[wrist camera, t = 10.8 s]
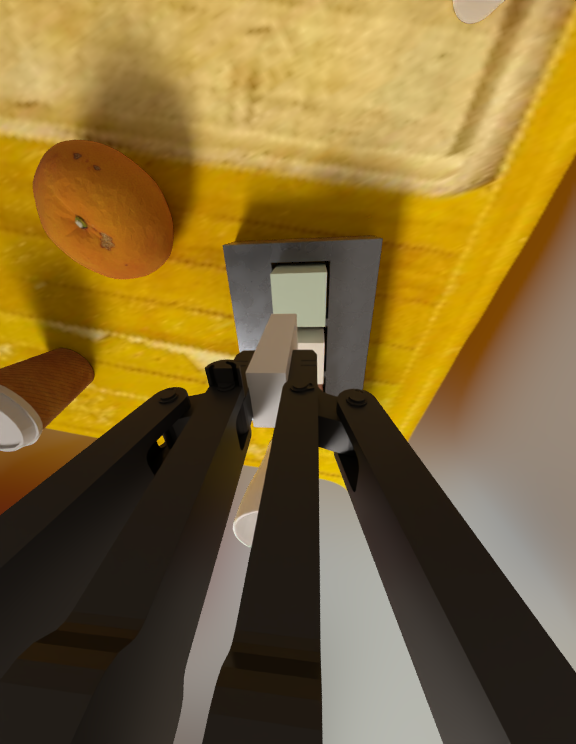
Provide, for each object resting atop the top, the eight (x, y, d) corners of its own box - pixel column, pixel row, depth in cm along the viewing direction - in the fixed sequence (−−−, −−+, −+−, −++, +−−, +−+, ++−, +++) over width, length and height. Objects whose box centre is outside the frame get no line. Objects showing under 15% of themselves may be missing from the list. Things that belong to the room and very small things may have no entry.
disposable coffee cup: (60, 325, 34) (-51, 372, 23) (118, 377, 37) (44, 437, 27) (26, 356, 37) (-83, 409, 27) (83, 401, 41) (5, 463, 31)
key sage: (278, 264, 25) (270, 273, 21) (325, 262, 24) (326, 272, 20) (280, 309, 27) (274, 327, 23) (323, 309, 27) (325, 326, 23)
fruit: (154, 291, 30) (106, 313, 23) (69, 214, 27) (-16, 213, 20) (207, 222, 26) (167, 224, 19) (113, 119, 22) (23, 76, 15)
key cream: (281, 324, 28) (275, 343, 24) (323, 323, 28) (324, 343, 23) (283, 360, 31) (278, 383, 26) (322, 360, 30) (323, 384, 26)
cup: (313, 420, 38) (311, 508, 27) (323, 466, 43) (325, 556, 32) (247, 427, 40) (219, 511, 29) (264, 470, 45) (247, 556, 34)
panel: (234, 241, 26) (222, 245, 23) (373, 235, 25) (382, 238, 21) (256, 401, 37) (250, 420, 34) (354, 404, 36) (357, 423, 32)
